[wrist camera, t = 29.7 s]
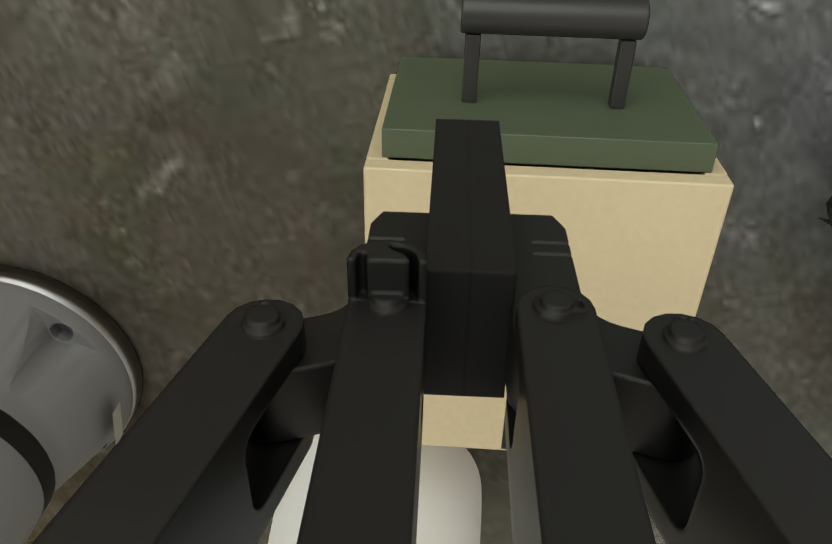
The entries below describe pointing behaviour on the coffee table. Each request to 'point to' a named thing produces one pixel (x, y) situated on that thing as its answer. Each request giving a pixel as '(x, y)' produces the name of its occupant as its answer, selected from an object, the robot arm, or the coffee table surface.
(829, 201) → the finial
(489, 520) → the coffee table surface
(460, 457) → the vase
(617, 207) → the beige box shell
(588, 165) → the green-front drawer
